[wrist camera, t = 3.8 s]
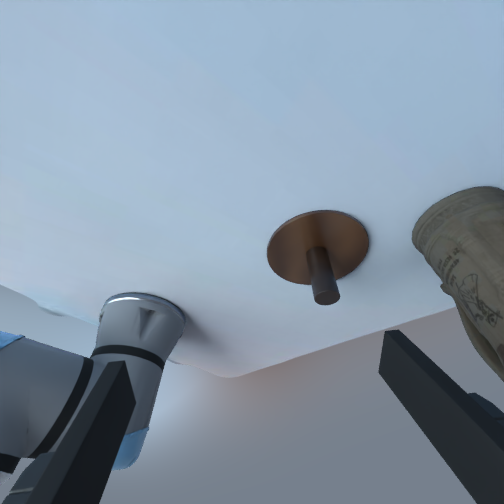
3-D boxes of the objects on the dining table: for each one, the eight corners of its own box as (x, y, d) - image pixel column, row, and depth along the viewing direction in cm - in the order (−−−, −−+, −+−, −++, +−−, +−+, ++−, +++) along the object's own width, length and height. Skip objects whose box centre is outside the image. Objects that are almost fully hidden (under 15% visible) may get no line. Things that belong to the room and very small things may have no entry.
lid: (275, 286, 41) (277, 332, 35) (258, 220, 32) (257, 267, 26) (363, 275, 39) (381, 322, 33) (372, 200, 30) (401, 247, 24)
